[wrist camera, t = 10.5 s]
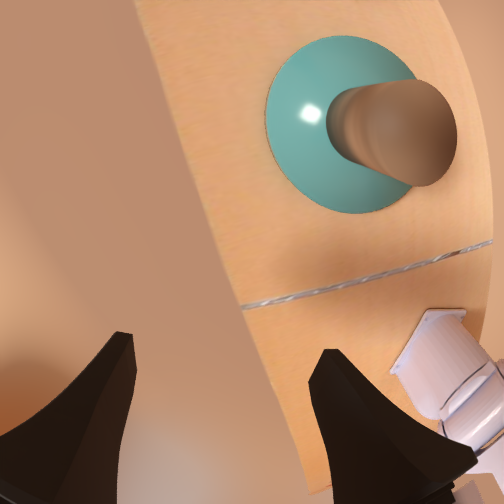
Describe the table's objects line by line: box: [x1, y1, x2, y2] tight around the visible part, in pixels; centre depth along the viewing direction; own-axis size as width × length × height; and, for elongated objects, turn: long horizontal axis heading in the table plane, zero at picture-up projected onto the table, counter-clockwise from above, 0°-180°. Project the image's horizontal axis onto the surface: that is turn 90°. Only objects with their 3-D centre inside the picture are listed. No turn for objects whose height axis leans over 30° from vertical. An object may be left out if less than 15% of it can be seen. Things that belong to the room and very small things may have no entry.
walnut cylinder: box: [326, 79, 457, 187], centre depth 12 cm, size 5×5×6 cm
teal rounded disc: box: [265, 36, 416, 214], centre depth 16 cm, size 12×12×1 cm
